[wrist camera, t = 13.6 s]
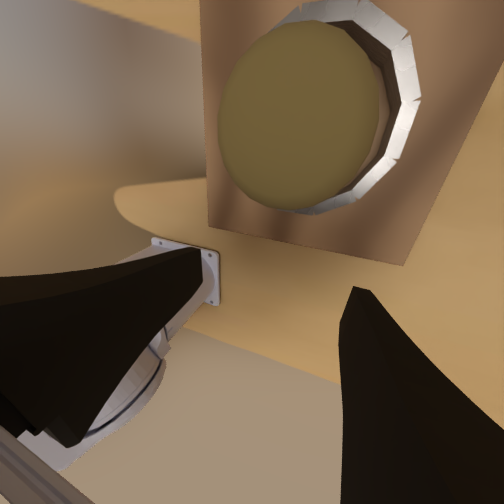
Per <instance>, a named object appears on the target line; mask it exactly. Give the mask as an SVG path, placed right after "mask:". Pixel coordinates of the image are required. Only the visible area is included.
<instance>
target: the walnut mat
mask: <svg viewBox="0 0 504 504" xmlns="http://www.w3.org/2000/svg"><path fill="white" fill-rule="evenodd" d="M315 1H322V0H200V25H201V48H202V74H203V99H204V122H205V123H204V124H205V146H206V173H207V198H208V222H209V227H213V228H218V229H223V230H228V231H232V232H237V233H242V234H247V235H252V236H257V237H262V238H267V239H272V240H277V241H282V242H286V243H291V244H296V245H301V246H306V247H311V248H316V249H321V250H326V251H331V252H336V253H341V254H345V255H350V256H355V257H360V258H365V259H370V260H375V261H380V262H385V263H390V264H395V265H399V266H403V265H404V263H405V261H406V259H407V257H408V255H409V253H410V251H411V249H412V247H413V245H414V243H415V241H416V239H417V237H418V235H419V233H420V231H421V228H422V226H423V224H424V222H425V220H426V218H427V216H428V214H429V212H430V210H431V208H432V206H433V204H434V202H435V200H436V198H437V196H438V194H439V192H440V190H441V188H442V186H443V184H444V181H445V179H446V177H447V175H448V173H449V171H450V169H451V167H452V165H453V163H454V161H455V159H456V157H457V155H458V153H459V151H460V149H461V147H462V145H463V143H464V141H465V139H466V137H467V134H468V132H469V130H470V128H471V126H472V124H473V122H474V120H475V118H476V116H477V114H478V112H479V110H480V108H481V106H482V104H483V102H484V100H485V98H486V96H487V94H488V92H489V90H490V87H491V85H492V83H493V81H494V79H495V77H496V75H497V73H498V71H499V69H500V67H501V65H502V63H503V61H504V0H369V1H370V2H371V3H373V4H374V5H375V6H377V7H378V8H379V9H380V10H382V11H383V12H384V13H386V14H387V15H388V16H389V17H391V18H392V19H393V20H395V21H396V22H397V23H398V24H400V25H401V26H402V27H404V28H405V29H406V30H408V32H407V34H406V36H405V37H404V38H406V37H408V36H409V35H410V36H411V41H412V47H413V53H414V58H415V64H416V69H417V75H418V81H419V86H420V92H421V97H419V98H418V99H416V100H415V101H420V104H419V107H418V109H417V112H416V115H415V118H414V120H413V123H412V126H411V128H410V131H409V134H408V137H407V139H406V142H405V145H404V147H403V150H402V153H401V155H400V158H399V159H393V158H392V159H393V160H395V161H396V162H397V163H396V164H395V165H394V166H393V167H392V168H391V169H390V170H389V171H388V172H387V173H386V174H385V175H384V176H383V177H382V178H381V179H379V180H378V181H377V182H376V183H375V184H374V185H373V186H372V187H371V188H370V189H369V190H368V191H367V192H366V193H365V194H364V195H363V196H362V197H361V198H360V199H358V198H356V197H355V199H356V202H353V203H350V204H347V205H344V206H341V207H339V208H336V209H333V210H330V211H327V212H324V213H321V214H318V215H316V216H315V213H314V214H313V216H311V215H305V214H298V213H292V212H286V211H280V210H277V209H274V208H269V207H266V206H264V205H262V204H260V203H258V202H256V201H254V200H252V199H250V198H249V197H248V196H247V195H246V194H245V193H244V192H242V191H241V190H240V189H239V188H238V187H237V186H236V185H235V184H234V182H233V180H232V178H231V177H230V175H229V173H228V171H227V170H226V168H225V166H224V164H223V160H222V156H221V152H220V149H219V145H218V126H217V115H218V111H219V106H220V102H221V97H222V93H223V88H224V86H225V84H226V82H227V80H228V78H229V76H230V74H231V72H232V70H233V68H234V66H235V64H236V62H237V61H238V60H239V59H240V58H241V57H242V55H243V54H244V53H245V52H246V51H247V50H248V49H249V48H250V47H251V45H252V44H253V43H254V42H255V41H256V40H257V39H258V38H260V37H261V36H263V35H265V34H267V33H268V32H269V31H270V30H271V29H272V28H273V27H275V26H276V25H277V24H278V23H279V22H280V21H281V20H282V19H284V18H285V17H286V16H287V15H288V14H289V13H290V12H291V11H292V10H294V9H295V8H296V7H297V6H298V5H299V9H300V12H301V9H302V3H308V2H315ZM360 1H361V0H359V1H358V4H359V2H360ZM369 61H370V60H369ZM370 64H371V67H372V69H373V72H374V75H375V77H376V80H377V83H378V86H379V124H378V127H377V130H376V134H375V137H374V140H373V144H372V147H371V150H370V153H369V155H368V156H367V158H366V159H365V161H364V162H363V164H362V166H361V167H360V169H359V170H358V172H357V174H356V175H355V177H354V178H353V179H352V180H351V181H350V182H349V183H348V184H346V185H345V186H344V187H346V186H348V185H349V184H350V183H351V182H352V181H353V180H354V179H355V178H356V177H357V176H358V175H359V174H360V173H361V172H362V170H363V169H364V168H365V167H366V166H367V165H368V164H369V163H370V162H371V161H372V160H373V159H374V158H375V157H376V155H377V152H378V149H379V146H380V143H381V140H382V137H383V134H384V130H385V127H386V124H387V121H388V118H389V115H390V108H389V104H388V99H387V95H386V90H385V85H384V81H383V76H382V72H381V68H379V67H378V66H377V65H375V64H374V63H373V62H372V61H370Z"/></svg>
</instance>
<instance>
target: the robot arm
mask: <svg viewBox="0 0 504 504" xmlns="http://www.w3.org/2000/svg"><path fill="white" fill-rule="evenodd" d="M210 254H211V255H212V256H211V255H210ZM203 302H205V303H208V304H211V305H214V306H218V305H219V304H220V283H219V254H218V253H217V252H216V251H212V250H208V249H204V248H200V247H195V246H191V245H187V244H183V243H179V242H175V241H171V240H166V239H162V238H158V237H153V238H152V245H151V246H149V247H147V248H145V249H143V250H141V251H139V252H137V253H135V254H133V255H132V256H129V257H127V258H125V259H123V260H121V261H119V262H117V263H115V264H113V265H111V266H105V267H99V268H94V269H87V270H80V271H71V272H63V273H55V274H43V275H30V276H29V275H28V276H11V277H0V494H1V495H2V496H4V498H5V499H6V500H7V501H9V503H10V504H95V503H93V502H92V501H91V500H90V499H89V498H87V497H86V496H85V495H84V494H83V493H81V492H80V491H79V490H78V489H76V488H75V487H74V486H73V485H72V484H70V483H69V482H68V481H67V480H66V479H64V478H63V477H62V476H61V475H60V474H58V473H57V472H56V471H61V470H64V469H66V468H68V467H69V466H70V465H71V464H72V463H73V462H74V461H75V460H76V459H78V458H80V457H81V456H82V455H83V454H85V452H87V451H88V450H89V449H90V448H91V447H93V446H94V445H95V444H97V443H98V442H99V441H101V440H102V439H103V438H105V437H106V436H107V435H109V434H111V433H113V432H115V431H117V430H119V429H120V428H121V427H123V426H124V425H126V423H128V422H129V421H130V420H131V419H133V418H134V417H135V416H136V415H137V414H138V413H139V412H140V410H142V409H143V407H144V406H145V405H146V404H147V403H148V402H149V400H150V399H151V398H152V396H153V395H154V394H155V392H156V390H157V389H158V387H159V385H160V383H161V381H162V379H163V375H164V372H165V369H166V361H165V359H164V358H163V357H164V356H165V355H166V354H167V353H168V351H169V350H170V349H171V347H170V345H169V344H168V342H169V340H170V339H171V338H172V337H173V336H174V335H175V334H176V333H177V331H178V330H179V329H180V328H181V327H182V326H183V325H184V324H185V322H186V321H187V320H188V319H189V318H190V317H191V316H192V315H193V313H194V312H195V311H196V310H197V309H198V308H199V307H200V305H201V304H202V303H203ZM338 346H339V362H340V376H341V390H342V401H343V402H342V404H343V443H342V445H343V446H342V475H341V500H340V504H504V430H503V429H502V428H501V427H500V426H499V425H498V424H497V423H495V422H494V421H493V420H492V419H491V418H490V417H489V416H488V415H486V414H485V413H484V412H483V411H482V410H481V409H480V408H479V407H478V406H477V405H475V404H474V403H473V402H472V401H471V400H470V399H469V398H468V397H467V396H466V395H465V394H464V393H463V392H462V391H461V390H460V389H459V388H458V387H457V386H456V385H454V384H453V383H452V382H451V381H450V380H449V379H448V378H447V377H446V376H445V375H444V374H443V373H442V372H441V371H440V370H439V369H438V368H437V367H436V366H435V365H434V364H433V363H432V362H431V361H430V360H429V359H428V357H427V356H426V355H425V354H424V353H423V352H422V351H421V350H420V349H419V348H418V347H417V346H416V345H415V344H414V342H413V341H412V340H411V339H410V338H409V337H408V336H407V334H406V333H405V332H404V331H403V330H402V329H401V328H400V326H399V325H398V324H397V323H396V322H395V320H394V319H393V318H392V317H391V315H390V314H389V313H388V312H387V311H386V309H385V308H384V307H383V306H382V304H381V303H380V302H379V301H378V299H377V298H376V297H375V296H374V294H373V293H372V292H371V291H370V290H367V289H363V288H359V287H355V286H353V288H352V290H351V293H350V296H349V299H348V301H347V304H346V307H345V310H344V312H343V315H342V318H341V320H340V326H339V343H338Z"/></svg>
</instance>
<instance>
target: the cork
mask: <svg viewBox="0 0 504 504" xmlns="http://www.w3.org/2000/svg"><path fill="white" fill-rule="evenodd" d="M378 124H379V86H378V83H377V80H376V77H375V75H374V72H373V69H372V67H371V64H370V61H369V58H368V56H367V54H366V52H365V51H364V50H363V49H362V48H361V47H360V46H359V45H358V44H357V43H356V42H355V41H354V40H353V39H352V38H351V37H350V36H349V35H348V34H347V33H346V31H345V30H343V29H340V28H338V27H335V26H332V25H329V24H326V23H324V22H321V21H318V20H307V21H299V22H291V23H284V24H283V25H281V26H279V27H277V28H275V29H274V30H272V31H270V32H268V33H267V34H265V35H263V36H261V37H260V38H258V39H257V40H256V41H255V42H254V43H253V44H252V45H251V47H250V48H249V49H248V50H247V51H246V52H245V53H244V54H243V55H242V57H241V58H240V59H239V60H238V61H237V62H236V64H235V66H234V68H233V70H232V72H231V74H230V76H229V78H228V80H227V82H226V84H225V86H224V88H223V93H222V97H221V102H220V106H219V111H218V115H217V126H218V145H219V149H220V152H221V156H222V160H223V164H224V166H225V168H226V170H227V171H228V173H229V175H230V177H231V178H232V180H233V182H234V184H235V185H236V186H237V187H238V188H239V189H240V190H241V191H242V192H244V193H245V194H246V195H247V196H248V197H249V198H250V199H252V200H254V201H256V202H258V203H260V204H262V205H264V206H266V207H269V208H275V209H282V210H296V209H302V208H308V207H313V206H315V205H317V204H319V203H321V202H323V201H325V200H327V199H329V198H331V197H333V196H334V195H335V194H337V193H338V192H339V191H340V190H341V189H342V188H343V187H344V186H345V185H346V184H348V183H349V182H350V181H351V180H352V179H353V178H354V177H355V175H356V174H357V172H358V170H359V169H360V167H361V166H362V164H363V162H364V161H365V159H366V158H367V156H368V155H369V153H370V150H371V147H372V144H373V140H374V137H375V134H376V130H377V127H378Z"/></svg>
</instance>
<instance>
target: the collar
mask: <svg viewBox="0 0 504 504" xmlns="http://www.w3.org/2000/svg"><path fill="white" fill-rule="evenodd" d="M358 1H359V0H322V1H315V2H308V3H302V9H301V12H300V9H299V5H298V6H297V7H296V8H295V9H294V10H292V11H291V12H290V13H289V14H288V15H287V16H286V17H285V18H284V19H282V20H281V21H280V22H279V23H278V24H277V25H276V26H275V27H273V28H272V29H271V30H270V31H272V30H274V29H275V28H277V27H279V26H281V25H283V24H284V23H291V22H299V21H307V20H318V21H321V22H324V23H326V24H329V25H332V26H335V27H338V28H340V29H343V30H345V31H346V33H347V34H348V35H349V36H350V37H351V38H352V39H353V40H354V41H355V42H356V43H357V44H358V45H359V46H360V47H361V48H362V49H363V50H364V51H365V52H366V54H367V56H368V58H369V60H370V61H372V62H373V63H374V64H375V65H377V66H378V67H379V68H381V72H382V76H383V81H384V85H385V90H386V95H387V99H388V104H389V108H390V115H389V118H388V121H387V124H386V127H385V130H384V134H383V137H382V140H381V143H380V146H379V149H378V152H377V155H376V157H375V158H374V159H373V160H372V161H371V162H370V163H369V164H368V165H367V166H366V167H365V168H364V169H363V170H362V172H361V173H360V174H359V175H358V176H357V177H356V178H355V179H354V180H353V181H352V182H351V183H350V184H349V185H348V186H346V187H343V188H342V189H341V190H340V191H339V192H338V193H337V194H335V195H334V196H333V197H331V198H329V199H327V200H325V201H323V202H321V203H319V204H317V205H315V206H313V207H308V208H302V209H296V210H282V209H277V210H280V211H286V212H292V213H298V214H305V215H311V216H313V214H314V213H315V216H316V215H318V214H321V213H324V212H327V211H330V210H333V209H336V208H339V207H341V206H344V205H347V204H350V203H353V202H356V199H355V197H356V198H358V199H360V198H361V197H362V196H363V195H364V194H365V193H366V192H367V191H368V190H369V189H370V188H371V187H372V186H373V185H374V184H375V183H376V182H377V181H378V180H379V179H381V178H382V177H383V176H384V175H385V174H386V173H387V172H388V171H389V170H390V169H391V168H392V167H393V166H394V165H395V164H396V163H397V162H396V161H395V160H393V159H399V158H400V155H401V153H402V150H403V147H404V145H405V142H406V139H407V137H408V134H409V131H410V128H411V126H412V123H413V120H414V118H415V115H416V112H417V109H418V107H419V104H420V101H415V100H416V99H418V98H419V97H421V92H420V86H419V81H418V75H417V69H416V64H415V58H414V53H413V47H412V41H411V36H410V35H409V36H408V37H406V38H404V37H405V36H406V34H407V32H408V30H406V29H405V28H404V27H402V26H401V25H400V24H398V23H397V22H396V21H395V20H393V19H392V18H391V17H389V16H388V15H387V14H386V13H384V12H383V11H382V10H380V9H379V8H378V7H377V6H375V5H374V4H373V3H371V2H370V1H369V0H361V1H360V2H359V4H358ZM270 31H269V32H270ZM392 158H393V159H392ZM274 209H275V208H274Z"/></svg>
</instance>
